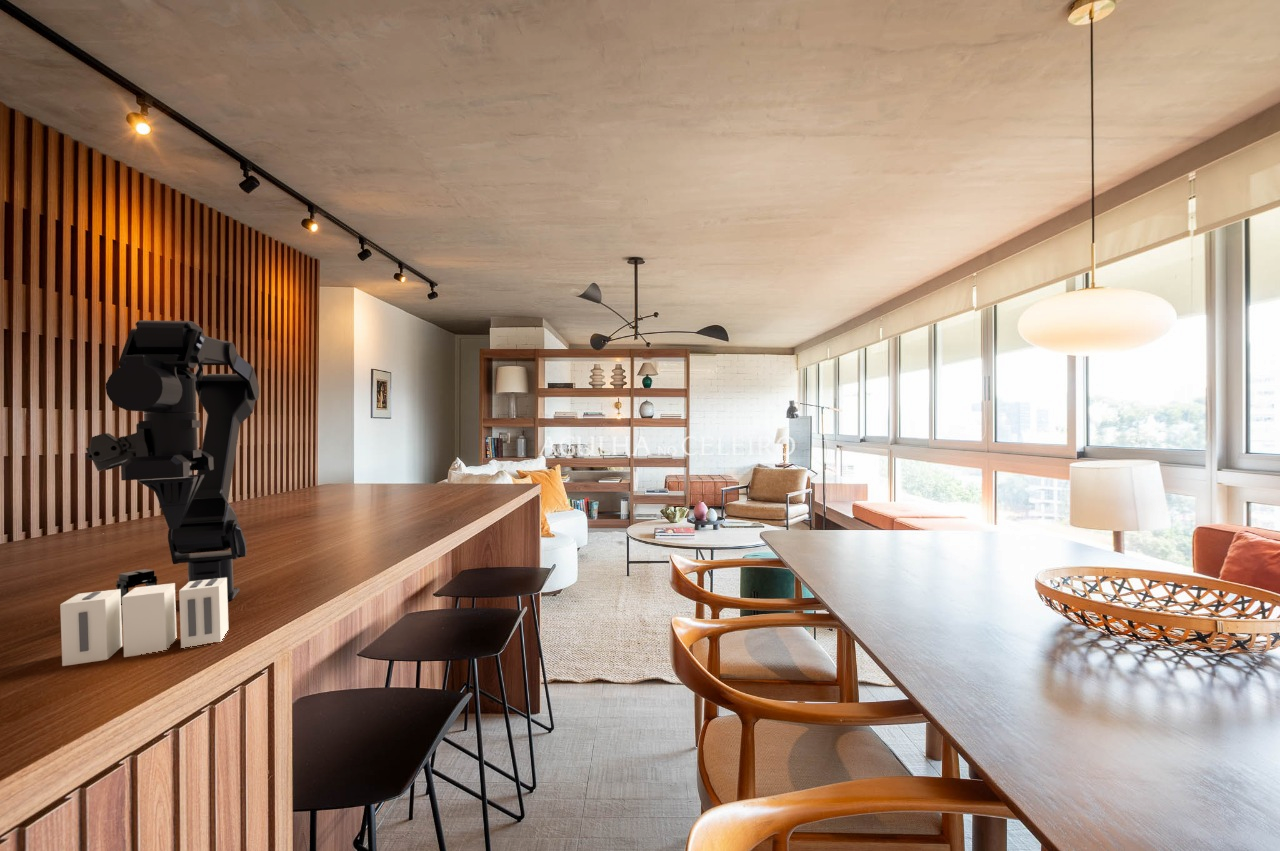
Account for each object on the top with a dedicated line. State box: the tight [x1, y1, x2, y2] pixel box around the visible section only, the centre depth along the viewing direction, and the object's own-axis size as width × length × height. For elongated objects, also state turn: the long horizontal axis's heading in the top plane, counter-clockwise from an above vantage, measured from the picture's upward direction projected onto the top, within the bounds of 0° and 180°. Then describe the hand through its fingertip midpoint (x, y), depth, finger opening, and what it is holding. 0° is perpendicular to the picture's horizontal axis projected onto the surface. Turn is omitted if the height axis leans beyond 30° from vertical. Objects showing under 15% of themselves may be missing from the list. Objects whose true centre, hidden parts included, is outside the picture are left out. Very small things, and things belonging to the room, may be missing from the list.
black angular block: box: [115, 568, 177, 604], centre depth 99 cm, size 12×7×5 cm, turn 153°
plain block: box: [121, 582, 178, 658], centre depth 75 cm, size 5×4×7 cm
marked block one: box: [59, 588, 123, 667], centre depth 73 cm, size 5×4×7 cm
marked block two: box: [178, 578, 230, 649], centre depth 77 cm, size 5×4×7 cm
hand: (174, 528), depth 84 cm, fingers closed
